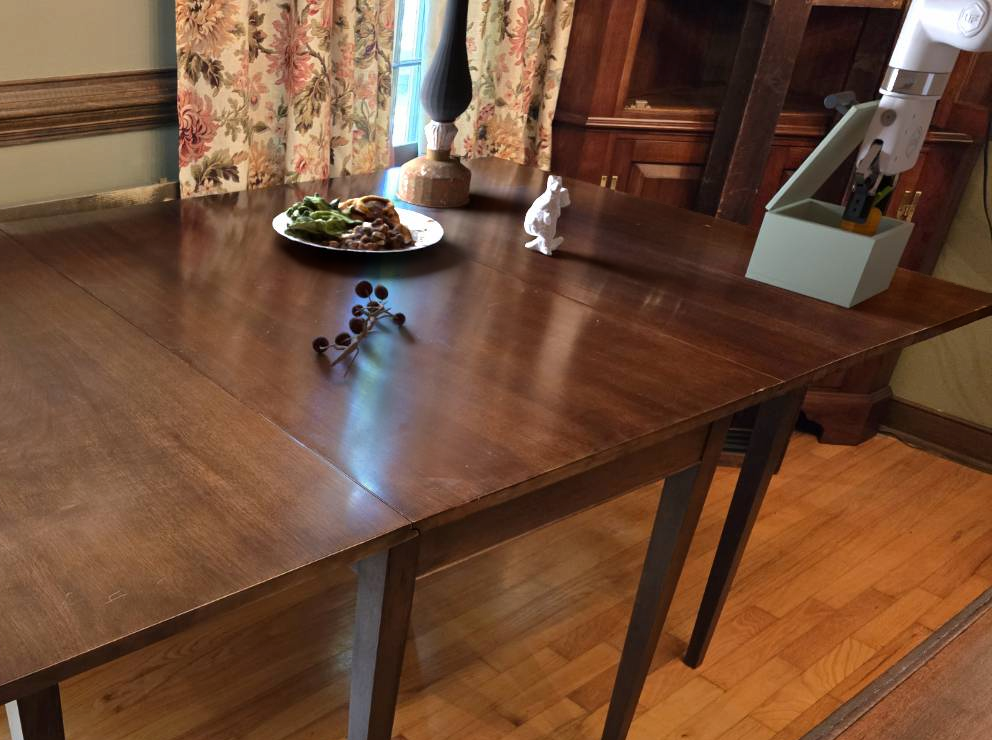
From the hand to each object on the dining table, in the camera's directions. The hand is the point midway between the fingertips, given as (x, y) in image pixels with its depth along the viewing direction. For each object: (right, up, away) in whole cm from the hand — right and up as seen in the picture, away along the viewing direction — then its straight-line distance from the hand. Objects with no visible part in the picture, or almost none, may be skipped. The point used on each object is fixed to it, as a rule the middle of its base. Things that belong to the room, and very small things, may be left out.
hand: (862, 217), depth 141 cm
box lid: (-4, +9, 0) cm, 10 cm away
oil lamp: (-56, +17, +40) cm, 71 cm away
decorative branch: (-76, -22, -18) cm, 81 cm away
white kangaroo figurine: (-43, 0, +17) cm, 46 cm away
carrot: (0, -8, +6) cm, 10 cm away
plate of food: (-73, +2, +18) cm, 75 cm away
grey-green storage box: (-2, -8, +8) cm, 11 cm away
